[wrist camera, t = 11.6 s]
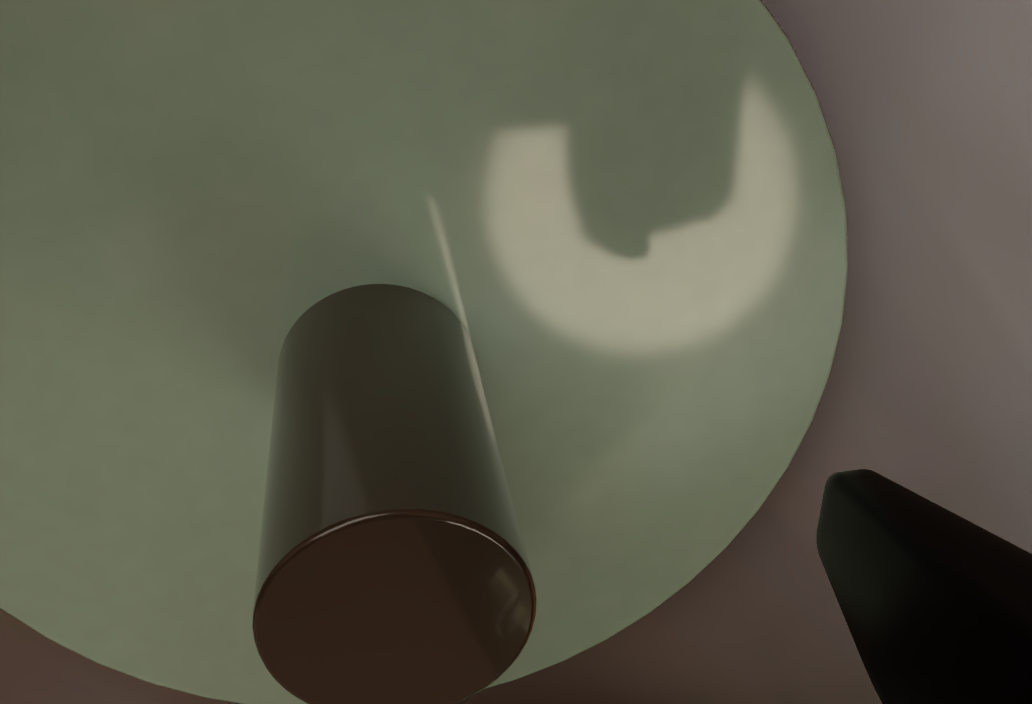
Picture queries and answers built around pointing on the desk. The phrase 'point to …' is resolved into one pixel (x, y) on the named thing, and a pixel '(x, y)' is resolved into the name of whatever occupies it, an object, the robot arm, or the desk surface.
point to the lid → (396, 328)
